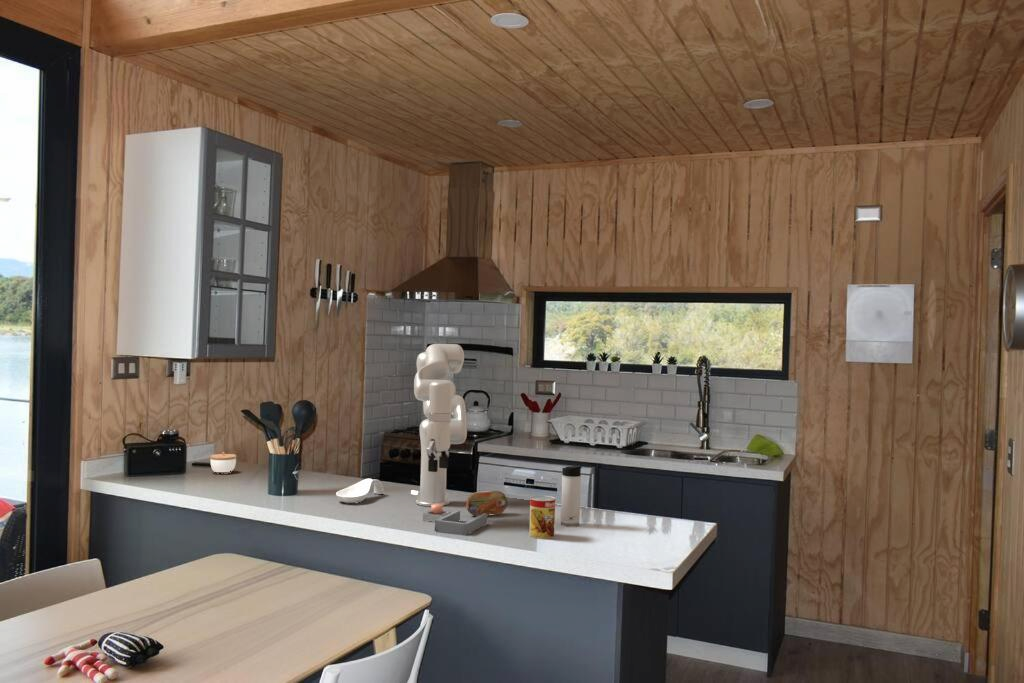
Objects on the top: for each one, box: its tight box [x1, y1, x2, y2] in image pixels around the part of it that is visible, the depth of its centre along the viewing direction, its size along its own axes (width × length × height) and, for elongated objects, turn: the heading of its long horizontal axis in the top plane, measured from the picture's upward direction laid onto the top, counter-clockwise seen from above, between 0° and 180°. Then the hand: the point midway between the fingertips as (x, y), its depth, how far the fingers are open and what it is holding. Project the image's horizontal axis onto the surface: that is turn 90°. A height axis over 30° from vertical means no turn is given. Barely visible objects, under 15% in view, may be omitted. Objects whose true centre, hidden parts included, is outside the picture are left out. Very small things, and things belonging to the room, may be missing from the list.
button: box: [430, 504, 444, 514], centre depth 274 cm, size 4×4×2 cm
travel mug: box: [560, 465, 583, 527], centre depth 272 cm, size 6×7×20 cm
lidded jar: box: [209, 451, 237, 473], centre depth 352 cm, size 11×11×9 cm
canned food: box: [529, 495, 556, 540], centre depth 256 cm, size 8×8×12 cm
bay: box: [434, 510, 488, 536], centre depth 264 cm, size 11×17×4 cm, turn 160°
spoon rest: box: [335, 477, 385, 504], centre depth 305 cm, size 24×12×7 cm, turn 156°
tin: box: [465, 490, 508, 517], centre depth 284 cm, size 15×3×8 cm, turn 117°
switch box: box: [422, 509, 452, 523], centre depth 274 cm, size 7×7×2 cm
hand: (438, 469), depth 274 cm, fingers open, 7 cm apart
